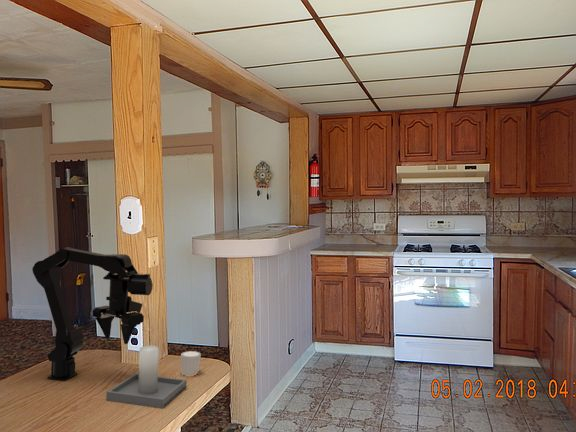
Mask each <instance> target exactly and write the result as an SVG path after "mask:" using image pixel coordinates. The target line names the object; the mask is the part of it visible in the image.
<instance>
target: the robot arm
mask: <svg viewBox="0 0 576 432" xmlns="http://www.w3.org/2000/svg"><path fill="white" fill-rule="evenodd" d="M69 262H73V263H78V264H79V263H80V264H84V265H90V266H95V267H98V268H101V269H103V270H104V271H106V272H108V273H107V274H106V275H105V276H103V280H108V281H109V291H108V292H109V294H108V295H109V296H106V298H105V300H106V301H108V305H103V306H102V305H101V306H96V307H94V308H93V310H92V317H93V318H94V319H95V320H96V322H97V323H98V325H99V327H100V329H101V332H102V333H103V335H104V337H105V339H106V340H109V339H110V338H111V332H112V331H111V330H112V322H113V321H114V319H115V318H116V319H120V321H121V323H120V330H121V335H122V339H123V342H124V343H123V344H124V345H128V344H129V342H130V340H131V336H132V334H133V332H134V330H135V328H136V327H137V326H138V325H141V324H142V323H144V321H145V320H144V319H145V318H144V317H145V315H144V314H143V313H141V311H142V308H143V303H142V302H137V301H133V299H132V297H131V295H135V296H136V295H137V296H138V295H139V296H150V295H151V294H152V291H153V285H154V283H153V281H152V278H151V274H150V273H143V274H142V273H138V271H137V269H136V268H135V266H134V264H133V262H132V259H131V258H130V256H129V255H128V254H124V253H122V254H119V253H118V254H117V253H116V254H112V253H111V254H102V253H97V252H93V251H87V250H82V249H77V248H72V247H69V246H68V247H63V248H62V247H61V248H60V249H59V250H58V251H56V252H55V253H53V254H51V255H49V256H48V257H45V258H44V259H42V260H38V261H37V262H35V263H34V265H33V266H32V274H33V276H34V278H35V280H36V281H37V283H38V284H39V285H40V286H41V287H42V288H43V290H44V292H45V296H46V299H47V303H48V306H49V309H50V314H51V317H52V320H53V323H54V326H55V336H54V347H55V348H53V349H52V350H51V351H50V352H49V353H48V354H47V359H48V361H49V362H51V370H50V371H51V372H50V375H48V376H47V379H50V378H51V379H52V380H56V381H57V380H58V381H67V380H68V379H70V378H72V377H74V376H77V375H78V372H76V362H75V359H76V358H75V357H74V356H77V355H78V352H79V351H80V349H81V348H82V347H83V346H84V339H85V337H84V336H83V333H82V328H81V327H78V328H77V327H75V326H74V325H73V323H72V319H71V316H70V313H69V309H68V306H67V302H66V299H65V296H64V293H63V289H62V286H61V280H62V275H63V274H62V268H64V267H65V266H67V264H68V263H69ZM129 294H130V295H129Z"/></svg>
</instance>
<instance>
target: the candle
mask: <svg viewBox="0 0 576 432" xmlns="http://www.w3.org/2000/svg"><path fill="white" fill-rule="evenodd" d="M159 350H160V347H159V346H157V345H145V346H141V347H139V355H138V356H139V363H138V364H139V365H138V374H139V386H138V392H139V393H141V394H151V393H154V392H156V391H157V386H158V376H159V353H160V351H159Z"/></svg>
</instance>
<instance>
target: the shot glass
mask: <svg viewBox="0 0 576 432" xmlns="http://www.w3.org/2000/svg"><path fill="white" fill-rule="evenodd" d="M201 355H202V354H201V352H199V351H195V350H189V351H183V352H182V353H181V354H180V361H181V362H180V365H181V375H182V374H183V375H192V374H195V373H197V372H198V371H200V363H201V358H202V357H201ZM198 373H199V372H198ZM183 375H182V376H183Z"/></svg>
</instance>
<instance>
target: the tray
mask: <svg viewBox="0 0 576 432" xmlns="http://www.w3.org/2000/svg"><path fill="white" fill-rule="evenodd" d="M138 386H139V373H134V374H132V375H130V376H129V377H127V378H126V379H124V380H123V381H121V382H120V383H118V384H117V385H115V386H113V387H112V388H110V389H109V390H107V391H106V397H105V400H106V401H108V402H109V401H110V402H116V403H123V404H130V405H135V406H136V405H137V406H143V407H151V408H159V409H163V408H165V407H166V406H167V405H168V404H169V403H171V402H172V401H173V400H174V399H175V398H177V396H179V395H180V394H181V393H182V392H183V391H185V388H186V389H187V379H182V378H181V379H180V378H173V377H166V376H159V375H158V386H157V391H156V392H154V393H151V394H141V393H139V392H138Z"/></svg>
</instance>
